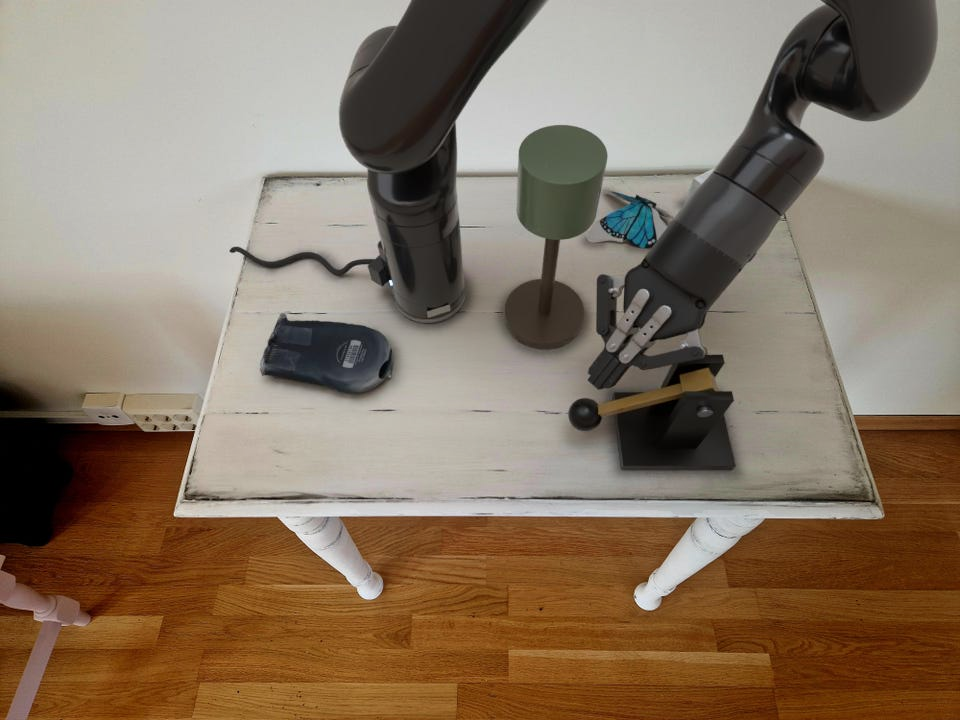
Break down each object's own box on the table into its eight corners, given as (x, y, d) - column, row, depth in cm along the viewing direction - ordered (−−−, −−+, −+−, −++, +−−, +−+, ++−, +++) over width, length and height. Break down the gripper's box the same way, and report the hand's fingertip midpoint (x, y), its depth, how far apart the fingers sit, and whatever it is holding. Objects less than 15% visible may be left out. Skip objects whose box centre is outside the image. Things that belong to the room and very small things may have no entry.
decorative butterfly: (672, 241, 74) (602, 208, 74) (648, 269, 80) (583, 239, 80) (687, 190, 79) (621, 159, 79) (664, 220, 84) (603, 191, 84)
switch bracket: (621, 469, 63) (647, 420, 52) (612, 396, 67) (634, 337, 56) (731, 470, 62) (782, 420, 51) (715, 396, 67) (758, 336, 56)
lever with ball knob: (578, 439, 62) (563, 428, 60) (575, 409, 64) (561, 397, 62) (722, 406, 55) (712, 391, 52) (715, 373, 57) (705, 358, 54)
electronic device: (269, 394, 70) (383, 401, 67) (248, 366, 66) (369, 372, 63) (297, 337, 76) (403, 341, 73) (280, 308, 72) (392, 311, 68)
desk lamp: (489, 323, 73) (485, 161, 51) (533, 274, 77) (548, 104, 55) (554, 363, 70) (579, 208, 48) (597, 310, 74) (639, 144, 52)
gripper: (640, 192, 50) (532, 344, 57) (769, 279, 45) (634, 436, 52) (664, 207, 57) (564, 343, 63) (779, 285, 52) (657, 424, 58)
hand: (596, 384), depth 57 cm, fingers closed
